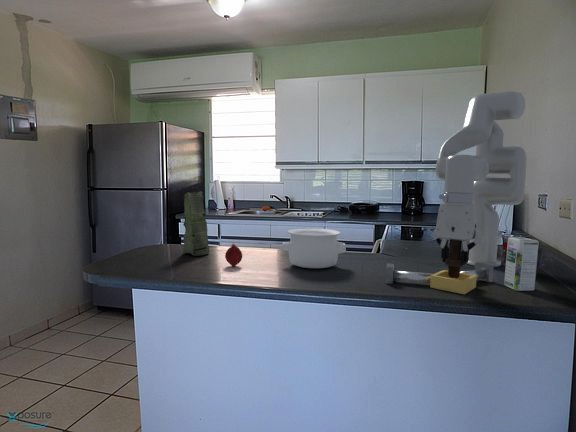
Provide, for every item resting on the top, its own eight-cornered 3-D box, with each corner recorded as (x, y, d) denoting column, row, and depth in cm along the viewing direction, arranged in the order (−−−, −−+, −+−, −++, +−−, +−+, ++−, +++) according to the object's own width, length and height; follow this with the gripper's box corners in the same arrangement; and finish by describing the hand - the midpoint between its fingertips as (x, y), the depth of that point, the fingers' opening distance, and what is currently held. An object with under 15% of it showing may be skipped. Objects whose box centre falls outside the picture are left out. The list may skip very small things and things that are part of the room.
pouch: (185, 258, 148) (184, 191, 145) (177, 252, 158) (176, 190, 156) (214, 255, 153) (213, 191, 151) (204, 250, 164) (204, 190, 161)
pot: (342, 261, 146) (343, 229, 144) (347, 273, 128) (348, 236, 127) (283, 260, 147) (283, 227, 145) (280, 271, 130) (280, 234, 128)
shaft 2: (466, 286, 115) (467, 269, 114) (451, 282, 119) (452, 265, 119) (492, 281, 120) (493, 265, 120) (478, 277, 125) (479, 262, 124)
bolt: (462, 275, 115) (465, 224, 113) (466, 280, 110) (469, 226, 108) (441, 274, 116) (444, 223, 115) (444, 278, 111) (447, 225, 110)
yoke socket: (442, 281, 120) (443, 269, 120) (475, 287, 114) (476, 275, 113) (430, 287, 113) (430, 275, 113) (464, 294, 107) (465, 281, 106)
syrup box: (503, 285, 116) (506, 236, 115) (522, 285, 117) (525, 236, 115) (515, 291, 111) (519, 240, 109) (535, 290, 111) (539, 240, 110)
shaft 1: (433, 283, 117) (434, 266, 117) (434, 287, 113) (435, 270, 112) (386, 279, 121) (387, 263, 121) (385, 283, 117) (386, 266, 116)
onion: (245, 265, 137) (245, 242, 136) (236, 269, 132) (236, 245, 131) (231, 263, 139) (231, 241, 139) (221, 267, 134) (221, 244, 133)
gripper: (423, 198, 114) (420, 260, 116) (486, 201, 102) (481, 270, 104) (434, 197, 119) (430, 256, 121) (494, 200, 108) (490, 265, 110)
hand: (454, 262), depth 113 cm, fingers closed on bolt, 4 cm apart
